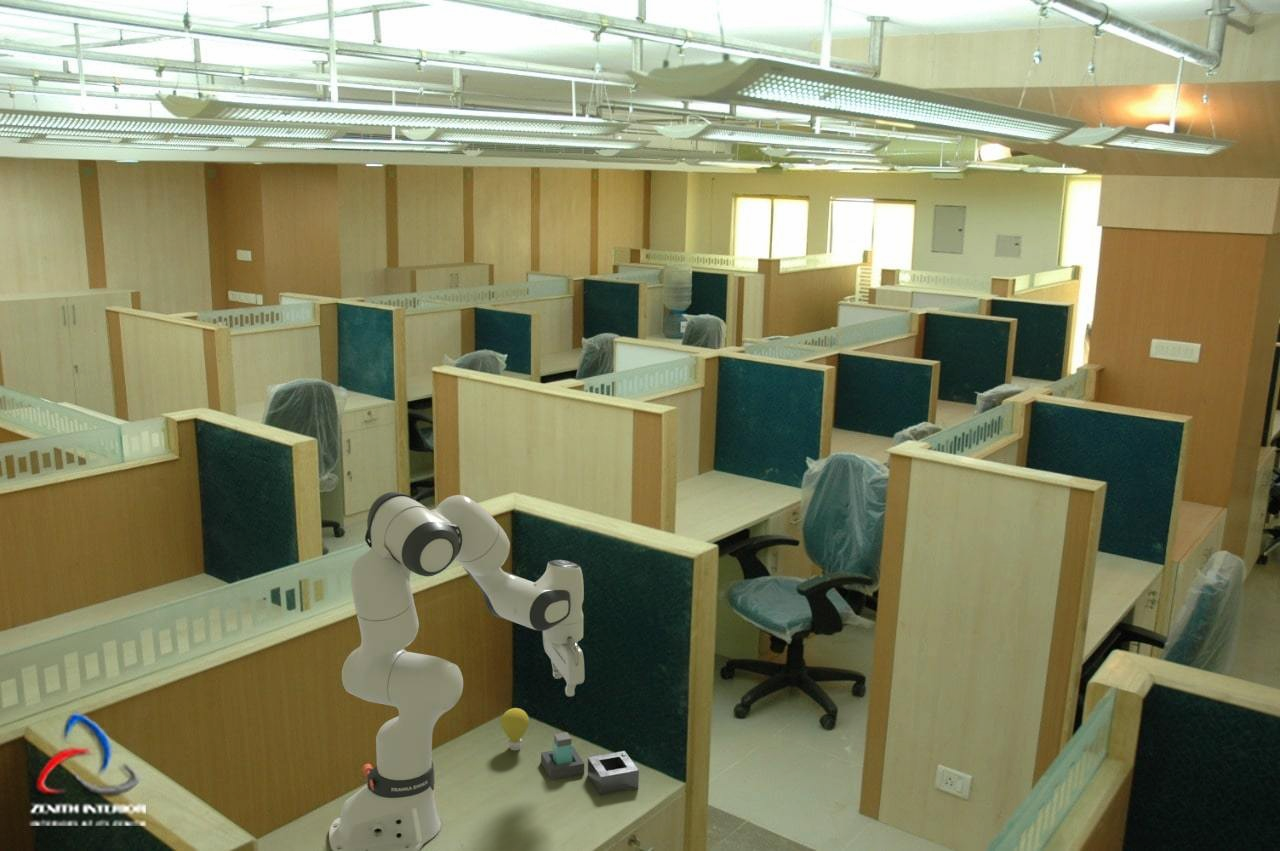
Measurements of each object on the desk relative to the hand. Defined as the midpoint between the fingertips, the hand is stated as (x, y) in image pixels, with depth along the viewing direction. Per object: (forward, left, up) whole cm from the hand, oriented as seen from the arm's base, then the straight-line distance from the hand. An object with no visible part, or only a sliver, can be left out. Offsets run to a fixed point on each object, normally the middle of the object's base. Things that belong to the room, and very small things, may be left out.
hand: (563, 686), depth 241 cm
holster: (0, 0, -21) cm, 21 cm away
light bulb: (-8, +12, -21) cm, 25 cm away
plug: (0, 0, -21) cm, 21 cm away
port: (+9, -10, -21) cm, 24 cm away
